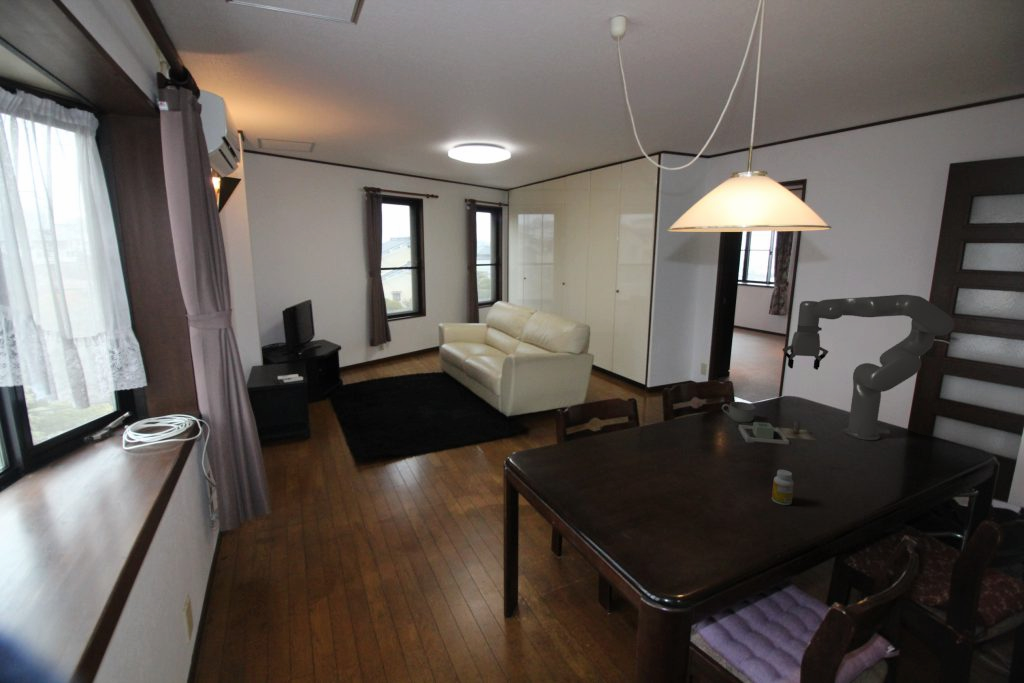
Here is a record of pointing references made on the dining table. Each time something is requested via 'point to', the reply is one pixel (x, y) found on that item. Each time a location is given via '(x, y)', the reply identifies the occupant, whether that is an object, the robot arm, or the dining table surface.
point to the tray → (750, 439)
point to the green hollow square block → (763, 430)
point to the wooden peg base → (796, 432)
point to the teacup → (740, 411)
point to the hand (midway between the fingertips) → (803, 368)
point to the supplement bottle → (783, 488)
